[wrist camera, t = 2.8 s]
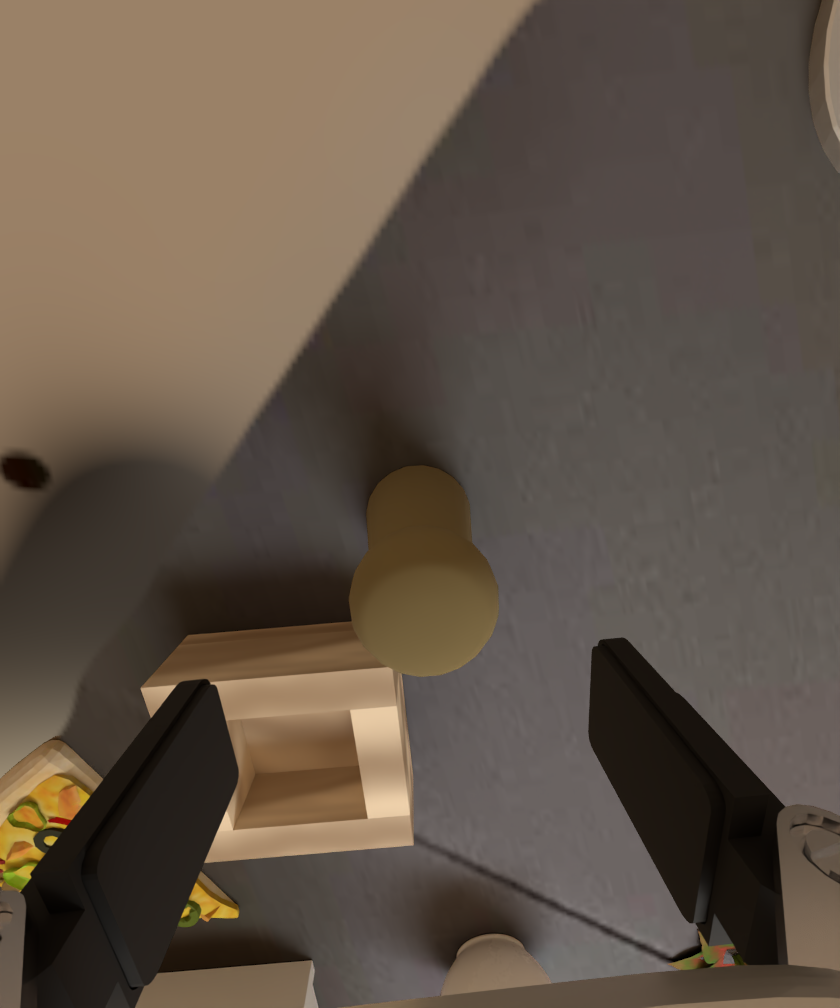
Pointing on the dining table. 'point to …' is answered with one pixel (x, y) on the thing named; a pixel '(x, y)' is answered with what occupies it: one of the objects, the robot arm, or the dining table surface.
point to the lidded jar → (492, 966)
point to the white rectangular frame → (234, 987)
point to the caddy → (303, 739)
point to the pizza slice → (66, 822)
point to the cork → (422, 576)
